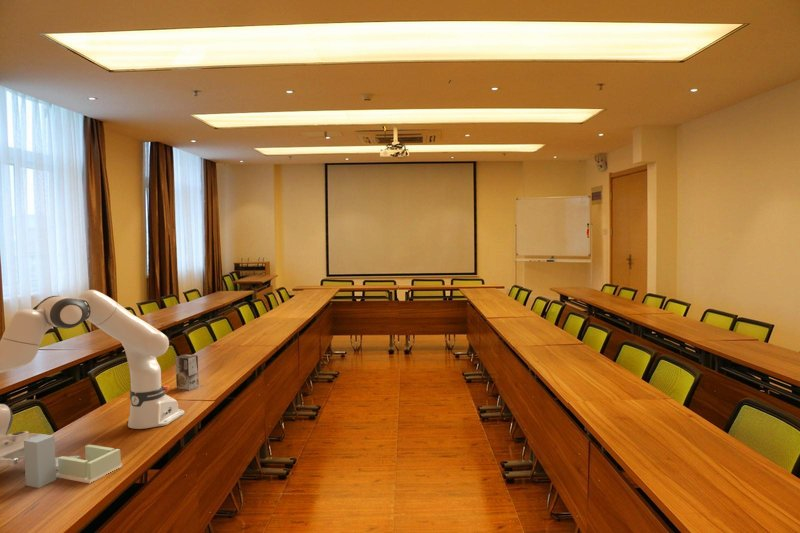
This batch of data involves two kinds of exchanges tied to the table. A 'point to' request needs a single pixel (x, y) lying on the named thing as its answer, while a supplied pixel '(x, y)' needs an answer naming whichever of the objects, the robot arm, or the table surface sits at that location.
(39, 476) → the block
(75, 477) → the cradle
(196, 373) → the coffee box
